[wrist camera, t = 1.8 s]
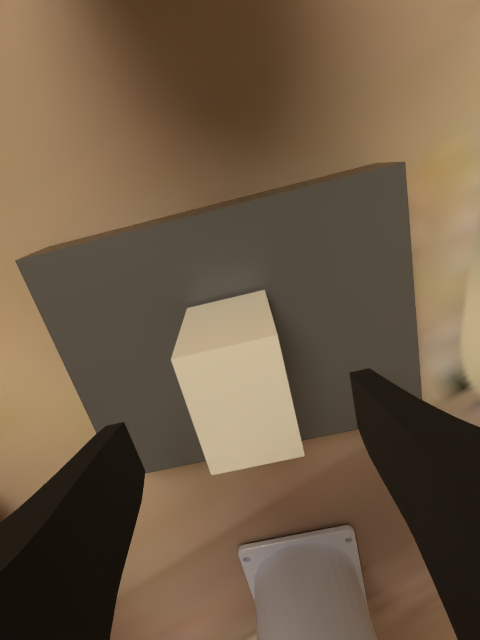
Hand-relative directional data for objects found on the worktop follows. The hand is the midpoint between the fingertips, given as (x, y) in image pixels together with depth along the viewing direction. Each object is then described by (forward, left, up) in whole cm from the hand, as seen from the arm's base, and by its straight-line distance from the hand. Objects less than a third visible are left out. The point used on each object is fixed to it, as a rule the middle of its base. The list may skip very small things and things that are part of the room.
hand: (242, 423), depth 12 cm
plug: (0, 0, -9) cm, 9 cm away
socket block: (0, 0, -9) cm, 9 cm away
